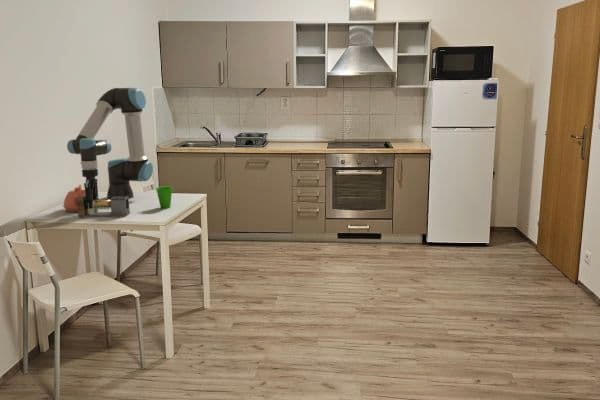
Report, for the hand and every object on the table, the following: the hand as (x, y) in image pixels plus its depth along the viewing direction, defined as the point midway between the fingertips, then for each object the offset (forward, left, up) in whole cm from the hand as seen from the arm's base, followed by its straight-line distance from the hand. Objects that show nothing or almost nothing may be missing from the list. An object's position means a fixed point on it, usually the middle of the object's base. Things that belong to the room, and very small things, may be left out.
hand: (93, 213), depth 284 cm
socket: (0, -5, -1) cm, 5 cm away
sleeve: (0, +14, -1) cm, 14 cm away
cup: (-16, +34, -1) cm, 38 cm away
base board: (0, +6, -1) cm, 6 cm away
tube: (0, +3, +2) cm, 4 cm away
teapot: (-14, -12, -1) cm, 19 cm away
